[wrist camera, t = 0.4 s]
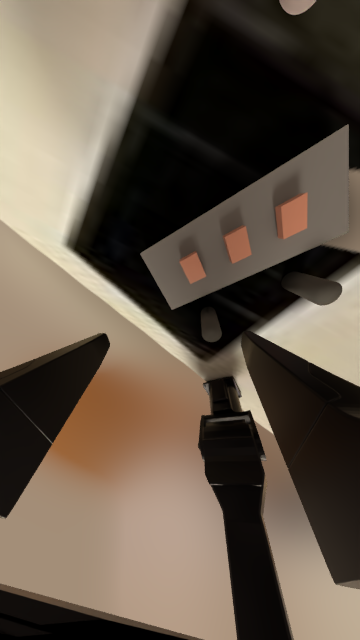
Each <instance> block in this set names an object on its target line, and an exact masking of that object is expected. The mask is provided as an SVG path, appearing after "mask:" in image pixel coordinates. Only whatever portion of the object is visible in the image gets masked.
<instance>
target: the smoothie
mask: <svg viewBox="0 0 360 640" xmlns="http://www.w3.org/2000/svg"><path fill="white" fill-rule="evenodd" d="M279 1H280V4H281V6H282V8H283V9H284V10H285V11H286V12H287V13H288V14H291V15H298V14H301V13H303V12H305V11H306V10H308V9H309V8H310V7H311V6H312V5H313V4H314V3H315V2H316V0H279Z"/></svg>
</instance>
